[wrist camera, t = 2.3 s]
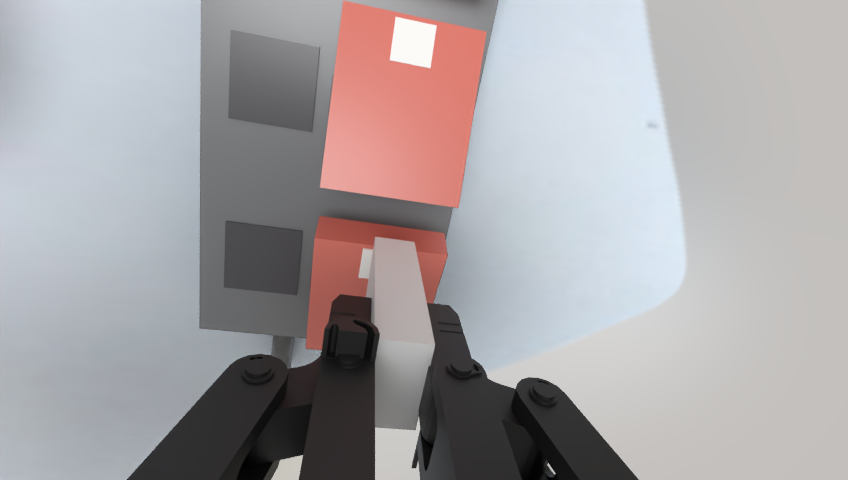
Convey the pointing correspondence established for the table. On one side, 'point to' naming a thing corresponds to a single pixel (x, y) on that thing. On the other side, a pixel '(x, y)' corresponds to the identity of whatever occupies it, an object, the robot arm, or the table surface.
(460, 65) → the red box
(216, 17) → the power strip
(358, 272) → the rocker
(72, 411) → the table surface
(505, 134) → the table surface
